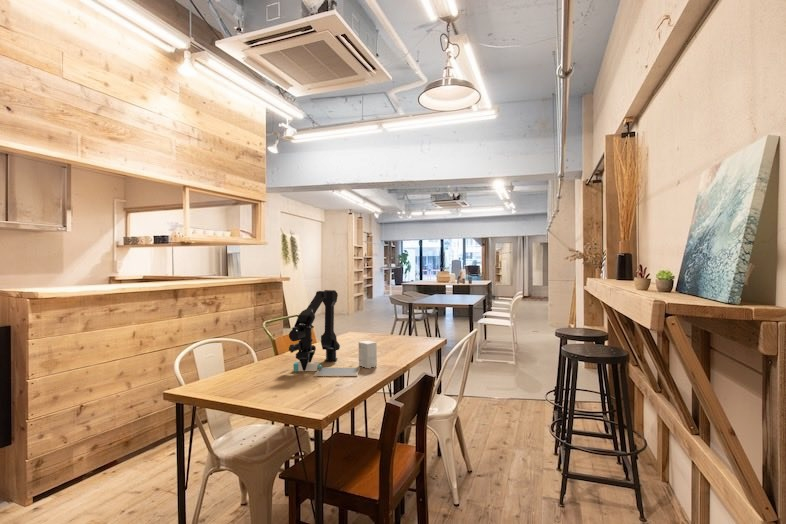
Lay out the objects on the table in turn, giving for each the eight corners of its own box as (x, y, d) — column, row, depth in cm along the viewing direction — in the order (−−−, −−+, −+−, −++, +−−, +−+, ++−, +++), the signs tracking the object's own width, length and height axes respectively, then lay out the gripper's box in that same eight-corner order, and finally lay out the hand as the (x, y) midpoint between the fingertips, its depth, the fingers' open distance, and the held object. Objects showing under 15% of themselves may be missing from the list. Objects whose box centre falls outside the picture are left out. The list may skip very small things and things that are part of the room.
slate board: (320, 368, 222) (319, 367, 222) (360, 368, 221) (360, 367, 221) (313, 376, 206) (313, 375, 206) (357, 376, 206) (357, 375, 206)
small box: (377, 367, 224) (376, 342, 224) (367, 369, 220) (367, 344, 220) (368, 364, 231) (367, 340, 230) (358, 366, 226) (358, 341, 226)
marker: (295, 369, 220) (295, 361, 220) (322, 369, 220) (322, 361, 220) (293, 371, 216) (293, 363, 216) (320, 371, 216) (320, 363, 216)
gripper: (295, 334, 228) (295, 363, 228) (285, 341, 209) (285, 373, 209) (315, 334, 227) (316, 363, 228) (307, 341, 209) (308, 373, 209)
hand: (306, 368), depth 218 cm, fingers open, 9 cm apart
